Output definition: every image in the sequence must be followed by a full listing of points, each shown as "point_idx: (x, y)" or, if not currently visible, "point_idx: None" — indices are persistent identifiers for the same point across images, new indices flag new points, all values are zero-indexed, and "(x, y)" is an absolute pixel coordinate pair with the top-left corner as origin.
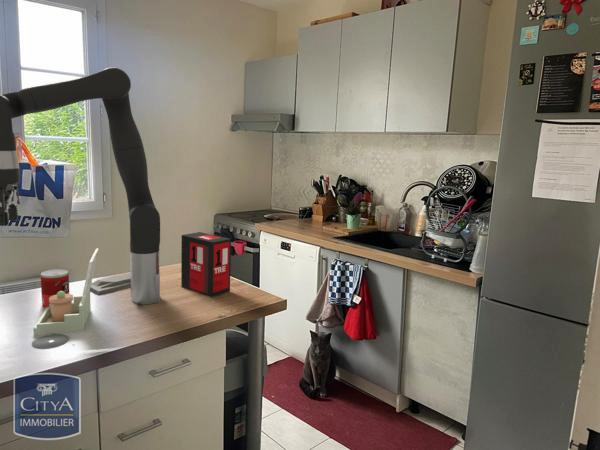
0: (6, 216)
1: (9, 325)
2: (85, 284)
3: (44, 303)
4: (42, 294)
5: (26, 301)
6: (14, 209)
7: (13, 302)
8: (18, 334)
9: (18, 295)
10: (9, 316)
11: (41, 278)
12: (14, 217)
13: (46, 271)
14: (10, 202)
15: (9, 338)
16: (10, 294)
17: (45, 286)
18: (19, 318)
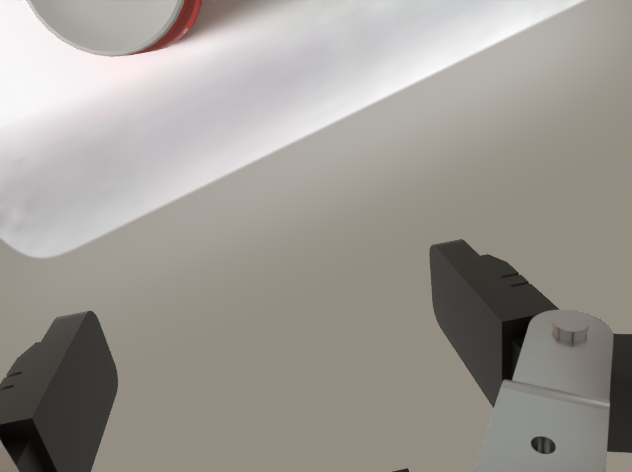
0: (506, 294)
1: (370, 90)
2: None
3: (191, 24)
4: (178, 35)
5: (104, 147)
6: (52, 426)
7: (123, 193)
8: (458, 16)
9: (32, 215)
10: (281, 133)
11: (164, 36)
12: (92, 352)
13: (78, 36)
14: (524, 415)
15: (488, 33)
16: (25, 252)
17: (188, 7)
18: (302, 85)
